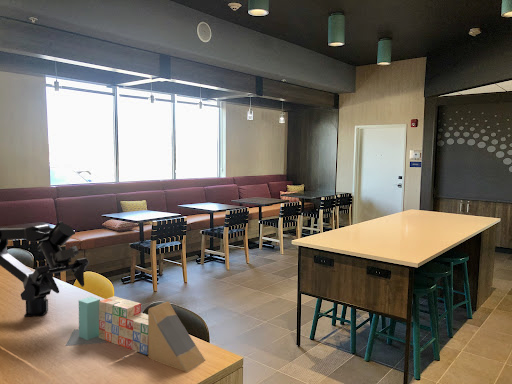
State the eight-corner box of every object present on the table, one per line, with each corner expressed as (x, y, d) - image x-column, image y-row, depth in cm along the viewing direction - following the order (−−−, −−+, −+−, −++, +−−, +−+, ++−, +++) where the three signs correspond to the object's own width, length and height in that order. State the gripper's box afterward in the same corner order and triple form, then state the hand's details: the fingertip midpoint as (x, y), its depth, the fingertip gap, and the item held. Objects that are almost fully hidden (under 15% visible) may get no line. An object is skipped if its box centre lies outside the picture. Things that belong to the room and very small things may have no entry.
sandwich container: (187, 373, 108) (188, 320, 107) (147, 358, 116) (147, 308, 115) (206, 360, 116) (207, 310, 115) (167, 347, 124) (168, 300, 123)
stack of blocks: (161, 348, 123) (163, 309, 122) (147, 356, 117) (148, 315, 116) (113, 331, 133) (114, 295, 132) (97, 337, 127) (98, 300, 127)
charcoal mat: (65, 347, 122) (65, 345, 122) (73, 331, 133) (73, 329, 133) (106, 344, 124) (106, 342, 124) (111, 328, 136) (111, 327, 136)
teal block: (79, 336, 128) (78, 300, 127) (91, 331, 132) (91, 296, 131) (87, 340, 126) (87, 303, 125) (100, 335, 130) (99, 299, 129)
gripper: (35, 244, 132) (53, 282, 127) (86, 236, 147) (104, 270, 142) (23, 263, 137) (41, 301, 132) (74, 254, 152) (91, 287, 147)
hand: (71, 289), depth 138 cm, fingers open, 9 cm apart
